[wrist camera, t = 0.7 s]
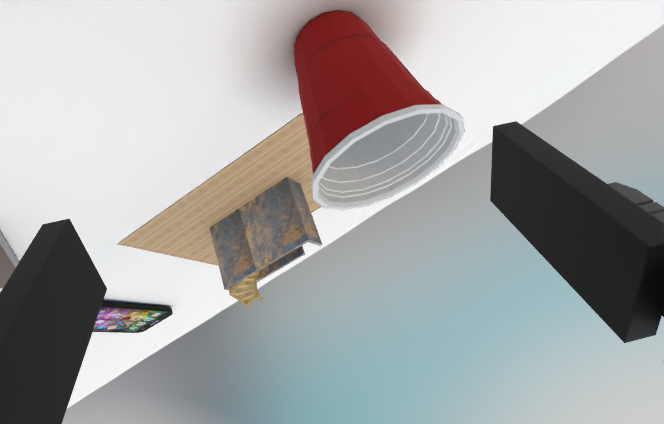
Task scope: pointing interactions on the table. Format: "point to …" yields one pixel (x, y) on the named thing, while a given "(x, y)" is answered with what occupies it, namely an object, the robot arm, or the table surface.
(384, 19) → the table surface
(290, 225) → the architectural model on board
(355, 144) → the plastic cup
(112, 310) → the smartphone
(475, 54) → the table surface
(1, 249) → the peg stand
